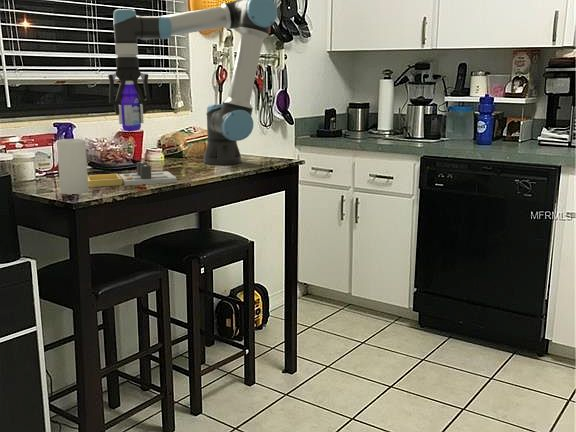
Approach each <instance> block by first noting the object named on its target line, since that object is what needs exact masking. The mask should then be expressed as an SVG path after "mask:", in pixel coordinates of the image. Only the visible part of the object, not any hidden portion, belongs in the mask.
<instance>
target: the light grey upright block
mask: <svg viewBox="0 0 576 432" xmlns="http://www.w3.org/2000/svg"><path fill="white" fill-rule="evenodd" d="M56 149H57V150H56V151H57V163H58V165H57V166H58V176H59V187H60V188H59V189H60V194H61V195H65V194H67V195H66V196H68V195H69V196H73V195H72V194H78V195H83V194H82V193H84V194H88V193H89V188H90V187H88V162H87V149H86V139H83V138H64V139H63V138H62V139H58V140H56Z"/></svg>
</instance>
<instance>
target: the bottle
mask: <svg viewBox="0 0 576 432" xmlns="http://www.w3.org/2000/svg"><path fill="white" fill-rule="evenodd" d="M139 104H140V99H139V97H138V93H137V91H136V89H135V85H134V82H133V81H126V82H125V85H124V88H123V91H122V95H121V98H120V105H121V110H122V124H121V126H122V129H123V131H124V132H135V131H136V132H137V131H140V130H141V129H142V128H141V127H142V123H141V121H140V106H139Z"/></svg>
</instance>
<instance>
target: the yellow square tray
mask: <svg viewBox="0 0 576 432" xmlns="http://www.w3.org/2000/svg"><path fill="white" fill-rule="evenodd" d="M111 186H123V182H122V178H121V177H120V176H119V174H118V173H108V174H107V173H106V174H89V175H88V188H92V187H93V188H96V187H111Z"/></svg>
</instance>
